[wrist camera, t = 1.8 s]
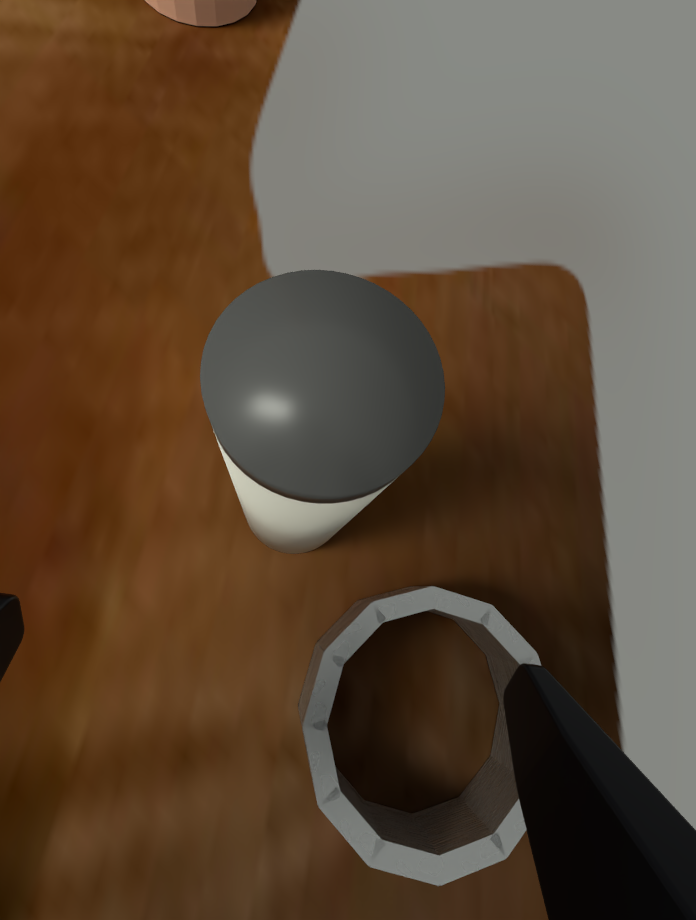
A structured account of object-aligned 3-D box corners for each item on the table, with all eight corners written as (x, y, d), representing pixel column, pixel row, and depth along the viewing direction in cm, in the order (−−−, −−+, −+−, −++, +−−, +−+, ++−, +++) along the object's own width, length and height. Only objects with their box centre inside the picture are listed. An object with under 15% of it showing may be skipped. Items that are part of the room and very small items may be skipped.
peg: (290, 575, 20) (320, 550, 7) (223, 499, 20) (145, 357, 8) (363, 507, 21) (490, 390, 9) (298, 437, 22) (333, 231, 9)
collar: (413, 893, 17) (441, 952, 15) (253, 705, 18) (250, 726, 15) (554, 703, 20) (601, 721, 17) (410, 547, 21) (431, 540, 18)
